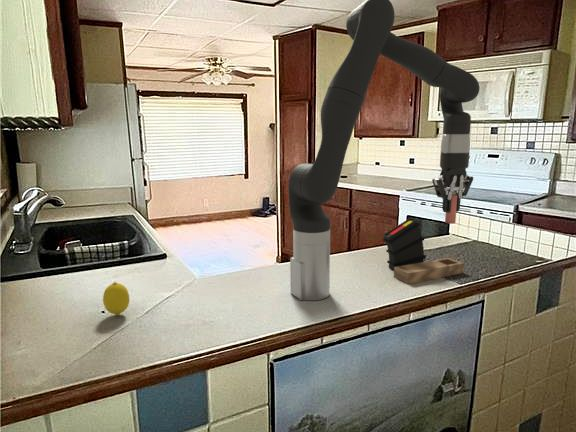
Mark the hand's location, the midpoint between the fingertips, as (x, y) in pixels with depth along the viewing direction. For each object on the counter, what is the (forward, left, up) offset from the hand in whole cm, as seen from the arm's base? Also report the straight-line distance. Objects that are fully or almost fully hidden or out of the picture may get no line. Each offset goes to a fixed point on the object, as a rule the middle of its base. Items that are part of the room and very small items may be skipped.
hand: (450, 211), depth 121 cm
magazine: (-9, +9, -18) cm, 22 cm away
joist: (-6, 0, -18) cm, 19 cm away
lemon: (-90, +10, -18) cm, 92 cm away
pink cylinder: (0, 0, -3) cm, 3 cm away
